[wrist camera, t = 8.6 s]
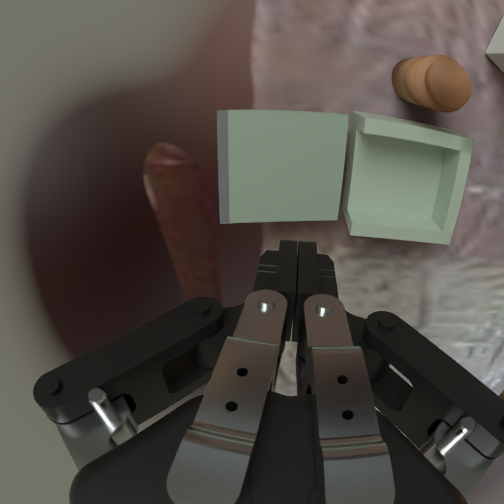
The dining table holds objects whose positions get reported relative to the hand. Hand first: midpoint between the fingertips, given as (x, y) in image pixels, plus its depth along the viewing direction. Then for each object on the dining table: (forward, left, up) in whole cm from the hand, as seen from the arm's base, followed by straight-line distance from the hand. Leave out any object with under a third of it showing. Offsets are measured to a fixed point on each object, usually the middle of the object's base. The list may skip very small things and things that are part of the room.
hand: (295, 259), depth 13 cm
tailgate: (-4, 0, -16) cm, 16 cm away
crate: (-10, 0, -19) cm, 21 cm away
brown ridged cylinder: (-11, -9, -19) cm, 23 cm away
